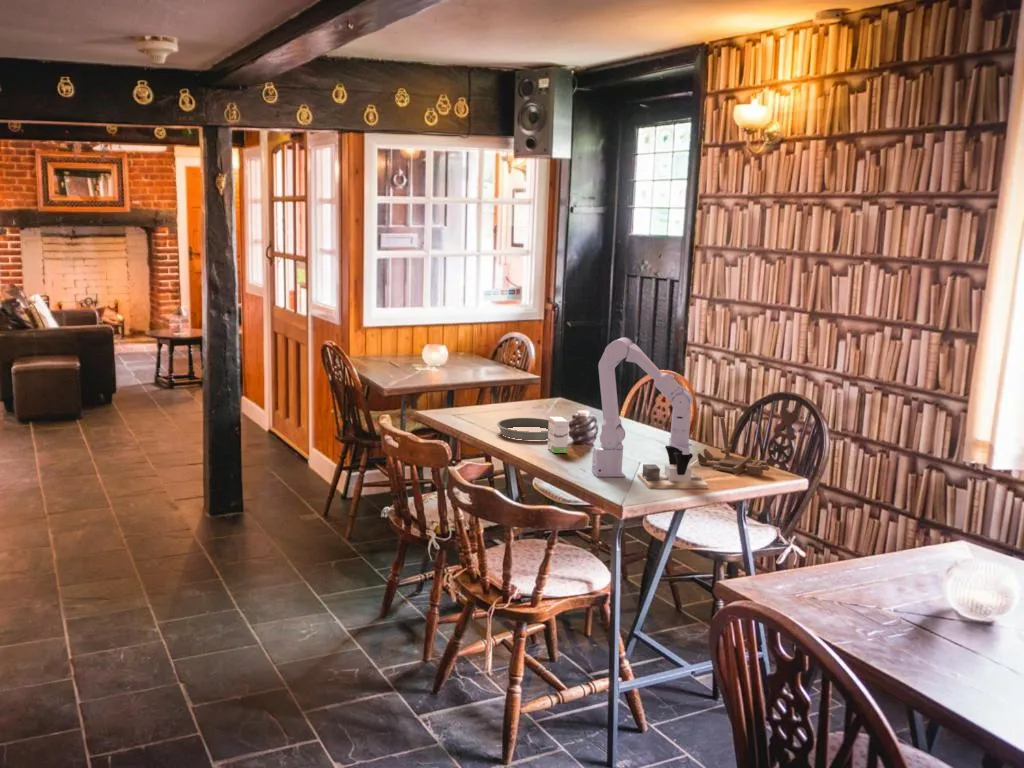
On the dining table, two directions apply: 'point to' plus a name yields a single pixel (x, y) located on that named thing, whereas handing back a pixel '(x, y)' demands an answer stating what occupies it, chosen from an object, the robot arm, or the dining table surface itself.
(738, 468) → the wooden figure
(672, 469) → the block
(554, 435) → the ink box
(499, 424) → the cake pan
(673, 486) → the rail board
